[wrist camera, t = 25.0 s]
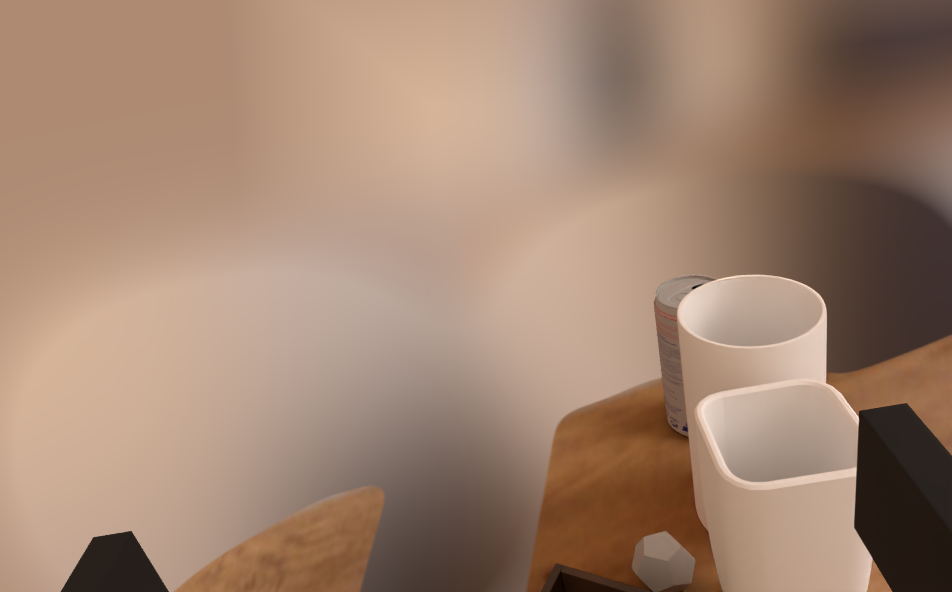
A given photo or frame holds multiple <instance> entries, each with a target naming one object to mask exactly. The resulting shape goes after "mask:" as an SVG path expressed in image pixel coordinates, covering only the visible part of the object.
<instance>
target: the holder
mask: <svg viewBox="0 0 952 592" xmlns="http://www.w3.org/2000/svg"><path fill="white" fill-rule="evenodd" d="M541 592H651V591H647V590H644V589H641V588H637V587H634V586H631V585H627V584H624V583H621V582H617V581H614V580H611V579H607V578H604V577H601V576H597V575H594V574H591V573H587V572H584V571H581V570H577V569H574V568H571V567H567V566H563V565H561V564H557V563H556V564H555V566H554V568H553V570H552V572H551V574H550V576H549V578H548V579H547V581H546V583H545V585H544V587H543V589H542V591H541Z"/></svg>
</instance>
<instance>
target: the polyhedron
mask: <svg viewBox="0 0 952 592" xmlns="http://www.w3.org/2000/svg"><path fill="white" fill-rule="evenodd" d="M695 560H696V559H695V558H694V557H693V556H692V555H691V554H690V553H689V552H688V551H687V550H685V549H684V548H683V547H682V546H681V545H680V544H679V543H678V542H677V541H676V540H675V539H674V538H673V537H672V536H671V535H670V534H669V533H668V532H667V531H663V532H660V533H656V534H652V535H648V536H645V537H643V538H642V539H641V540H640V541H639V542H638V543H637V544H636V547H635V552H634V557H633V562H632V567H631V568H632V570H633V571H634V572H635V574H636V575H637V576H638V577H639V578H640V579H641V580H642V581H643V582H644V583H645V584H646V585H647V586H648V587H649V588H650V589H651V590H652V591H653V592H679V591H683V590H684V589H685V588H686V587H688V586H689V585H690V584H692V578H693V572H694V566H695Z"/></svg>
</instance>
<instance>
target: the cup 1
mask: <svg viewBox="0 0 952 592" xmlns="http://www.w3.org/2000/svg"><path fill="white" fill-rule="evenodd" d="M677 324H678V334H679V344H680V355H681V365H682V375H683V385H684V395H685V405H686V415H687V425H688V435H689V445H690V455H691V465H692V475H693V485H694V495H695V505H696V511H697V515H698V517H699V519H700V521H701V523H702V524H703V526H704V527H705V528H706V529H707V530H708V526H707V519H706V513H705V507H704V500H703V492H702V484H701V476H700V468H699V457H698V446H697V435H696V424H695V413H694V409H695V408H696V406H697V404H698V402H699V401H701V400H702V399H704V398H705V397H707V396H708V395H711V394H714V393H718V392H721V391H727V390H733V389H739V388H745V387H751V386H757V385H763V384H768V383H774V382H780V381H786V380H792V379H812V380H818V381H821V382H824V383H826V341H827V335H826V334H827V313H826V305H825V303H824V301H823V299H822V298H821V296H820V295H819V294H818V293H817V292H816V291H814V290H813V289H811V288H810V287H808V286H806V285H804V284H802V283H799V282H797V281H794V280H790V279H787V278H782V277H777V276H768V275H742V276H741V275H740V276H732V277H727V278H722V279H718V280H715V281H712V282H709V283H706V284H704V285H702V286H699V287H698V288H696V289H694V290H693V291H691V292H690V293H689V294H687V295H686V296H685V297H684V298H683V300H682V301H681V302H680V304H679V307H678V311H677Z"/></svg>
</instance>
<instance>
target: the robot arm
mask: <svg viewBox="0 0 952 592" xmlns="http://www.w3.org/2000/svg"><path fill="white" fill-rule="evenodd" d="M854 529H855V530H856V532H857V533H858V535H859V537H860V538H861V540H862V542H863V543H864V545H865V547H866V548H867V550H868V552H869V553H870V555H871V557H872V558H873V560H874V562H875V563H876V565H877V567H878V568H879V570H880V572H881V573H882V575H883V577H884V578H885V580H886V582H887V583H888V585H889V587H890V588H891V590H892V591H893V592H952V455H951V454H950V453H949V452H948V451H947V450H946V448H945V447H944V446H943V445H942V444H941V443H940V441H939V440H938V439H937V438H936V437H935V436H934V434H933V433H932V432H931V431H930V430H929V429H928V428H927V426H926V425H925V424H924V423H923V422H922V421H921V419H920V418H919V417H918V416H917V415H916V414H915V412H914V411H913V410H912V409H911V408H910V407H909V405H908V404H907V403H905V404H899V405H892V406H886V407H880V408H874V409H868V410H862V411H859V426H858V449H857V471H856V493H855V515H854ZM61 592H169V591H168V590H167V588H166V587H165V585H164V583H163V582H162V580H161V578H160V577H159V575H158V573H157V572H156V570H155V569H154V567H153V565H152V564H151V562H150V561H149V559H148V557H147V556H146V554H145V552H144V551H143V549H142V548H141V546H140V544H139V543H138V541H137V539H136V538H135V536H134V535H133V533H132V531H129V532H124V533H117V534H111V535H105V536H99V537H94V538H93V539H92V541H91V542H90V544H89V545H88V547H87V549H86V550H85V552H84V554H83V555H82V557H81V559H80V560H79V562H78V564H77V565H76V567H75V569H74V570H73V572H72V574H71V575H70V577H69V579H68V580H67V582H66V584H65V585H64V587H63V589H62V590H61Z"/></svg>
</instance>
